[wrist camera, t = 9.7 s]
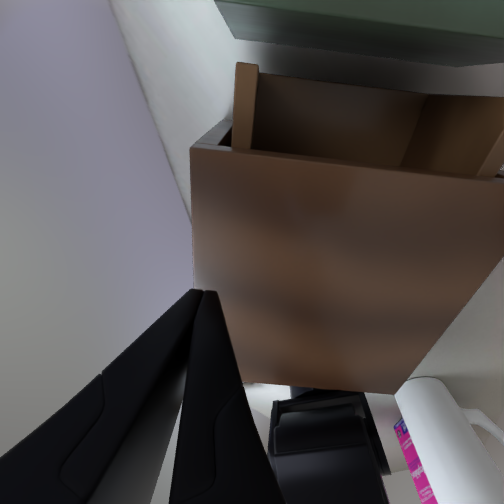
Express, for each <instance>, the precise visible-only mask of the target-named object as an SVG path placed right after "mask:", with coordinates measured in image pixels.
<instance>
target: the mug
mask: <svg viewBox="0 0 504 504" xmlns="http://www.w3.org/2000/svg"><path fill="white" fill-rule="evenodd" d="M394 396H395V399H396V401H397V404H398V406H399V409H400V412H401V414H402V417H403V419H404V422H405V424H406V427H407V429H408V431H409V434H410V436H411V439H412V441H413V444H414V446H415V449H416V451H417V453H418V456H419V458H420V461H421V463H422V466H423V468H424V471H425V473H426V476H427V478H428V481H429V483H430V486H431V488H432V490H433V493H434V495H435V498H436V500H437V502H438V504H504V476H503V474H502V473H501V471H500V470H499V468H498V467H497V465H496V463H495V462H494V460H493V459H492V457H491V456H490V454H489V453H488V451H487V450H486V448H485V446H484V445H483V443H482V442H481V440H480V439H479V437H478V436H477V434H476V433H475V431H474V429H473V428H472V426H471V424H476V425H479V426H481V427H482V428H484V429H486V430H487V431H488V432H490V433H491V434H492V435H493V436H495V437H496V438H497V439H498V440H499V441H500V443H501V444H502V445H503V446H504V432H503V431H502V430H501V429H500V428H499V427H498V426H497V425H496V424H495V423H494V422H492V421H491V420H490V419H489V418H488V417H487V416H486V415H485V414H484V413H483V412H482V411H480V410H479V409H464V408H461V407H459V406H458V404H457V403H456V401H455V400H454V398H453V397H452V395H451V394H450V392H449V391H448V389H447V388H446V386H445V385H444V383H443V382H442V381H440V380H438V379H436V378H431V377H420V378H414V379H411V380H408V381H405V383H404V384H403V385H402V387H401V388H400V389H399V390H398V392H397V393H396V394H395V395H394Z"/></svg>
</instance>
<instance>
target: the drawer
mask: <svg viewBox="0 0 504 504" xmlns="http://www.w3.org/2000/svg"><path fill="white" fill-rule="evenodd" d="M214 2H215V4H216V5H217V7H218V9H219V11H220V13H221V15H222V16H223V18H224V20H225V22H226V24H227V25H228V27H229V29H230V31H231V33H232V35H233V36H234V38H235V39H242V40H250V41H258V42H265V43H273V44H281V45H289V46H296V47H304V48H312V49H320V50H327V51H335V52H343V53H351V54H358V55H366V56H374V57H382V58H389V59H397V60H405V61H413V62H420V63H428V64H436V65H443V66H451V67H464V66H474V65H484V64H494V63H504V0H214ZM231 147H235V148H244V149H253V150H261V151H270V152H278V153H287V154H296V155H304V156H313V157H322V158H330V159H339V160H347V161H356V162H365V163H373V164H382V165H391V166H399V167H408V168H417V169H425V170H434V171H442V172H451V173H460V174H468V175H477V176H486V177H494V178H495V176H496V174H497V173H498V171H499V170H500V168H501V167H502V165H503V163H504V97H491V96H467V95H444V94H426V93H418V92H410V91H402V90H394V89H386V88H378V87H370V86H363V85H355V84H347V83H339V82H331V81H323V80H315V79H307V78H299V77H291V76H283V75H275V74H267V73H259V66H258V65H257V64H251V63H243V62H237V63H236V70H235V88H234V106H233V125H232V143H231Z"/></svg>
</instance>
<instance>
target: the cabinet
mask: <svg viewBox="0 0 504 504" xmlns="http://www.w3.org/2000/svg"><path fill="white" fill-rule="evenodd" d="M232 125H233V121H232V120H224V119H223V120H222V121H220V122H219V123H218V124H217V125H215V126H214V127H213V128H212V129H211V130H209V131H208V132H207V133H206V134H205V135H203V136H202V137H201V138H200V139H199V140H198V141H196V142H195V144H193V145H192V146H191V147H190V180H191V213H192V246H193V276H194V277H193V278H194V289H202V290H203V291H205V290H213V291H217V292H218V295H219V299H220V302H221V306H222V310H223V313H224V317H225V321H226V324H227V328H228V332H229V335H230V339H231V343H232V346H233V350H234V354H235V357H236V361H237V364H238V368H239V372H240V375H241V379H242V382H253V383H264V384H275V385H287V386H298V387H310V388H321V389H333V390H344V391H356V392H367V393H379V394H390V395H395V394H396V393H397V392H398V390H399V389H400V388H401V387H402V385H403V384H404V383H405V381H406V380H407V379H408V378H409V376H410V375H411V374H412V372H413V371H414V370H415V369H416V367H417V366H418V365H419V364H420V362H421V361H422V360H423V358H424V357H425V356H426V355H427V353H428V352H429V351H430V350H431V348H432V347H433V346H434V344H435V343H436V342H437V341H438V339H439V338H440V337H441V336H442V334H443V333H444V332H445V330H446V329H447V328H448V327H449V325H450V324H451V323H452V322H453V320H454V319H455V318H456V316H457V315H458V314H459V313H460V311H461V310H462V309H463V308H464V306H465V305H466V304H467V302H468V301H469V300H470V299H471V297H472V296H473V295H474V293H475V292H476V291H477V290H478V288H479V287H480V286H481V285H482V283H483V282H484V281H485V279H486V278H487V277H488V276H489V274H490V273H491V272H492V271H493V269H494V268H495V267H496V265H497V264H498V263H499V262H500V260H501V259H502V258H503V257H504V171H502V170H499V171H498V173H497V174H496V176H495V178H494V177H486V176H477V175H468V174H460V173H451V172H442V171H434V170H425V169H417V168H408V167H399V166H391V165H382V164H373V163H365V162H356V161H347V160H339V159H330V158H322V157H313V156H304V155H296V154H287V153H278V152H270V151H261V150H253V149H244V148H235V147H231V143H232Z"/></svg>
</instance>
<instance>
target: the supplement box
mask: <svg viewBox="0 0 504 504" xmlns="http://www.w3.org/2000/svg"><path fill="white" fill-rule="evenodd" d="M394 429H395V432H396V434H397V437H398V440H399V443H400V445H401V448H402V451H403V454H404V456H405V459H406V462H407V464H408V467H409V470H410V473H411V475H412V478H413V481H414V483H415V486H416V489H417V492H418V494H419V497H420V500H421V503H422V504H438V502H437V500H436V498H435V495H434V493H433V490H432V488H431V486H430V483H429V481H428V478H427V476H426V473H425V471H424V468H423V466H422V463H421V461H420V458H419V456H418V453H417V451H416V449H415V446H414V444H413V441H412V439H411V436H410V434H409V431H408V429H407V427H406V424H405V422H404V419H403V418H402V419H401V420H400V421H399V422H398V423H397V424H396V425H395V426H394Z"/></svg>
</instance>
